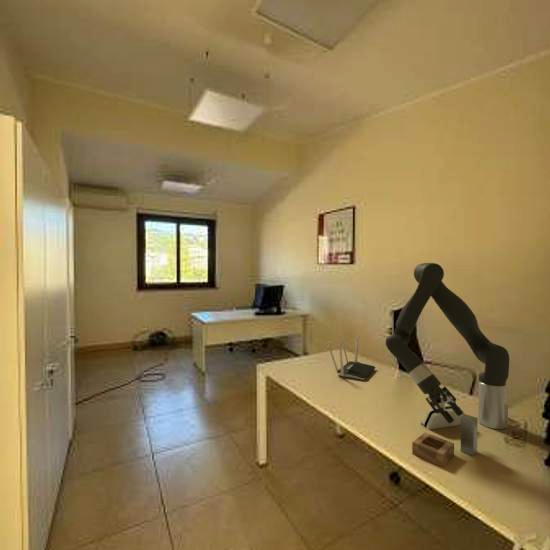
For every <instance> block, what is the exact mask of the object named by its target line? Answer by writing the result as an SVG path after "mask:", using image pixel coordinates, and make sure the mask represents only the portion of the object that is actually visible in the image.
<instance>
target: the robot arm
mask: <svg viewBox="0 0 550 550" xmlns="http://www.w3.org/2000/svg"><path fill="white" fill-rule="evenodd" d="M413 277H414V279H415V281H416V282H417V283H418V285H417V286H416V287H417V288H416V289H415V292H414V293H413V295H411V297H410V299H409V300H408V301H407V302H406V303H405V305H404V306H403V307H402V309H401V311H400V312H399V316H398V317H397V320H396V322H395V329H394V331H393V333H392V334H389V335H388V336H386V339H385V346H386V348H387V349H388V351H389V352H390V354H392V356H393V357H394V358H396V360H397V361H398V362H399V363H400V364H401V365H402V367H403V368H404V369H405V370H406V372H407V373H408V374H409V376H410V378H411V379H412V381H413V382H414V384H416V385H417V387H418V388H419V389H420V391H421V392H422V393H423V394H424V395H428V396H427V397H425V401H426V402H427V404H429V406H430V407H431V408H432V409H433V410H434V411H435V413H436V414H438V413H440V414H442V415H443V417H444V418H445V419H446V420H447V422H448V423H451V422H453V421H454V419H453V418H452V416H451V415H450V414H449V413H448V411H446V409H445V406H444V405H446V404H448V405H449V406H451V408H452V409H453V411H454V412H455V413H456V414H457V415H458V416H460V415H461V414H463V412H462V411H461V409H462V408H461V407H460V406H459V405H458V404H457V398H456V397H455V396H454V395H453V394H452V393H451V391H450V390H449V389H448V387H446V386H443V387H441V384H442V382H441V381H440V379H438V378H437V376H436V375H435V374H434V373H433V372H432V371H431V369H430V368H429V367H428V366H427V365H426V364H425V363H424V362H423V360H422V359H421V358H420V357H419V356H418V355H417V353H416V352H413V351H412V349H410V347H409V346H408V344H409V342H410V339H411V335H412V332H413V331H414V329H415V326H416V324H417V322H418V320H419V318H420V316H421V313H422V312H423V310H424V308H425V307H426V305H427V303H428V301H429V300H430V298H432V299H433V301H434V302H435V303H436V305H437V307H438V308H439V309H440V310H441V312H442V313H443V314H444V316H445V317H446V318H447V320H448V321H449V322H450V324H451V325H452V326H453V327H454V328H455V329H456V331H457V332H458V333H459V334H460V336H462V338H463V339H464V340H465V342H466V343H467V344H468V346H469V347H470V349H471V351H472V353H473V354H474V356H475V357H476V358H477V360H479V362H480V363H482V364H484V371H483V372H480V373H479V374H478V413H477V414H478V416H477V422H478V424H481V425H482V426H484V427H487V428H489V429H493V430H503V429H509V404H508V403H507V399H506V397H507V395H506V393H507V391H506V390H507V380H508V378H509V374H510V373H509V372H510V355H509V352H508V350H507V349H506V348H505V347H503V346H501V345H499V344H496V343H493V342H492V341H490V340H489V339H488V338H487V336H485V335H484V334H485V333H483V332H482V330H481V329H480V327H479V323H478V319H477V317H476V314H475V313H474V312H473V311H472V309H471V308H470V307H469V305H468V304H467V303H466V302H465V301H464V300H463V299H462V298H461V297H460V296H458V295H457V294H456V293H454V292H453V291H452V290H450V289H449V287H448V286H446V284H445V283H444V282H443V279H444V277H445V272H444V269H443V267H442V266H441V265H440V264H438V263H435V262H423V263H420V264H417V265H416V266H415V268H414V269H413ZM458 406H459V407H460V408H459V407H458ZM435 407H436V408H437V409H436V408H435ZM441 407H442V408H441Z"/></svg>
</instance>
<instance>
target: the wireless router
mask: <svg viewBox="0 0 550 550" xmlns="http://www.w3.org/2000/svg"><path fill="white" fill-rule="evenodd" d="M340 339H341V345H342V346H341V345H339V346H338V348H339V363H340V368H339V369H338V366H337V363H336V361H335V357H334V354H333V351H332V348H331V347H332V346H331V344H329V343H328V342H327V343H326V344H327V346H328V349H329V353H330V356H331V359H332V361H333V365H334V367H335V372H336V373H337V375H338V374H339V375H340V376H341V377H345V378H349V379H350V378H352V379H356V380H362V381H363V380H366V379H367V378H368V376H370V374H371V373H372V372H373V371H374V370H375V369H376V366H374V365H371V364H367V363H362V362H359V361H358V349H359V334H357V335H356V339H355V340H356V341H355V351H354V353H355V354H354V361H352V360H351V361H350V360H349V359H348V357H347V355H348V354H347V351H346V347H345V344H344V343H345V342H344V339H343V337H342V336H341V335H340ZM342 349H343V350H342ZM343 353H344V359H345V362H346V363H345V365H344V362H343Z"/></svg>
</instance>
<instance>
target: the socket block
mask: <svg viewBox="0 0 550 550" xmlns="http://www.w3.org/2000/svg"><path fill="white" fill-rule="evenodd" d="M411 443H412V445H411V448H412V449H411V451H412V452H411V453H412V454H411V455H415V456H417V457H419V458H422V459H424V460H425V461H427V462H430V463H432V464H435V465H436V466H440V467H442V468H443V467H444V466H445V465H446V464H447V463H448V462H449V461H450V460H451V459H452V458H453V457H454V456H455V443H454V442H451V441H449V440H446V439H443V438H441V437H438V436H436V435H433V434H430V433H427V432H426V431H425V432H423V433H422V434H420V435H419V436H418V437H417V438H416V439H414V440H413V441H412V442H411Z"/></svg>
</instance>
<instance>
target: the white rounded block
mask: <svg viewBox="0 0 550 550" xmlns="http://www.w3.org/2000/svg"><path fill="white" fill-rule="evenodd" d="M444 406H445V409H446V411H448V413H449V414H450V415H451V416H452V418H453V419H454V421H453V422H451V423H448V422H447V420H446V419H445V418H444V417H443V415H442V414H440V413H438V414H436V413H435V411H434V410H433V409H432V407H431V408H429V409H427V411H426V413H425V416H424V418H423V419H421V420H420V423H419V424H420V425H423V426H425V429H426V430H434V429H441V428H448V427H455V426H461V417H462V416H463V415H464V414H466V413H465V412H464V411H465V410H464V409H462V408H461V407H460V406H459V405H457V406H458V407H459V408H460V409H461V411H462V412H463V414H461V415H460V416H458V415H457V414H456V413H455V412H454V411H453V409H452V408H451V406H449V405H448V404H445V405H444ZM435 408H436V407H435ZM441 408H442V407H441ZM436 409H437V408H436Z"/></svg>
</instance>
